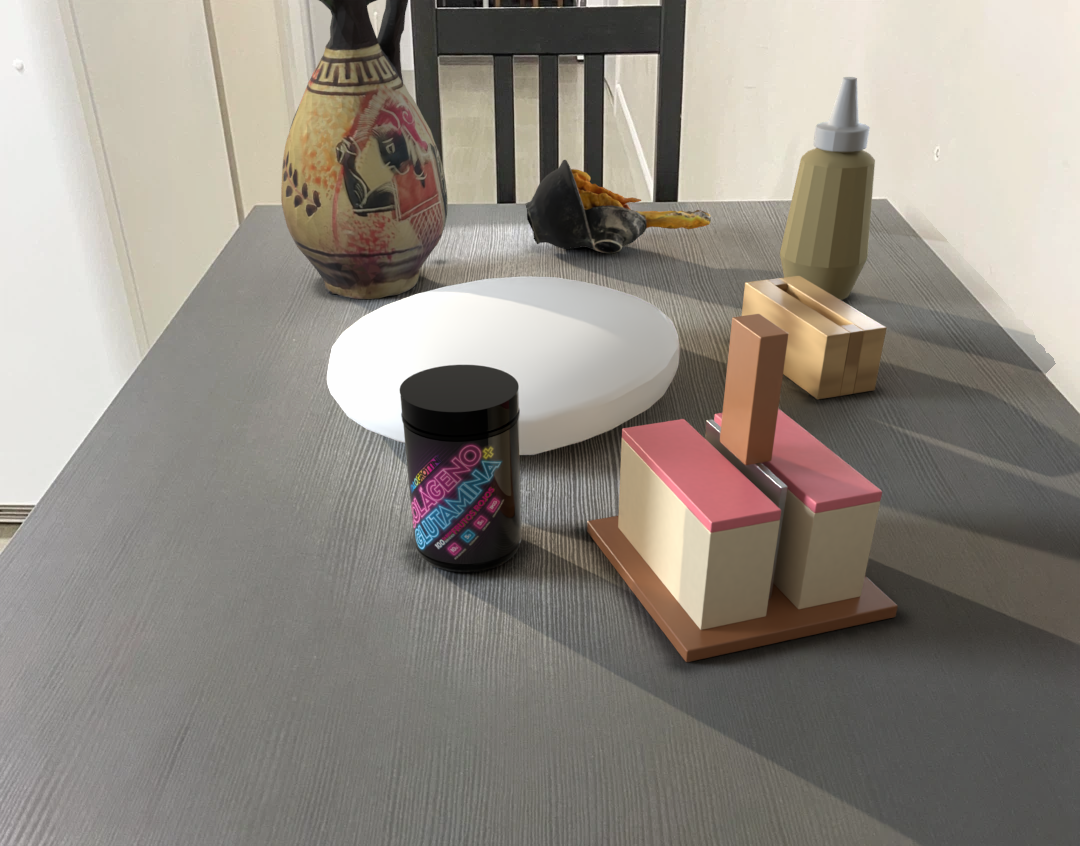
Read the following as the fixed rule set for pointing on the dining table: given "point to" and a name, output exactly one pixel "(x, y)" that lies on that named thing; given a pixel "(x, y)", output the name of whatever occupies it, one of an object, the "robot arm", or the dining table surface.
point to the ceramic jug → (363, 162)
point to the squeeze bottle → (832, 202)
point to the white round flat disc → (514, 354)
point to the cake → (741, 540)
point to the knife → (753, 405)
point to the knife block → (819, 336)
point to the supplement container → (463, 465)
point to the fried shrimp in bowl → (594, 214)
